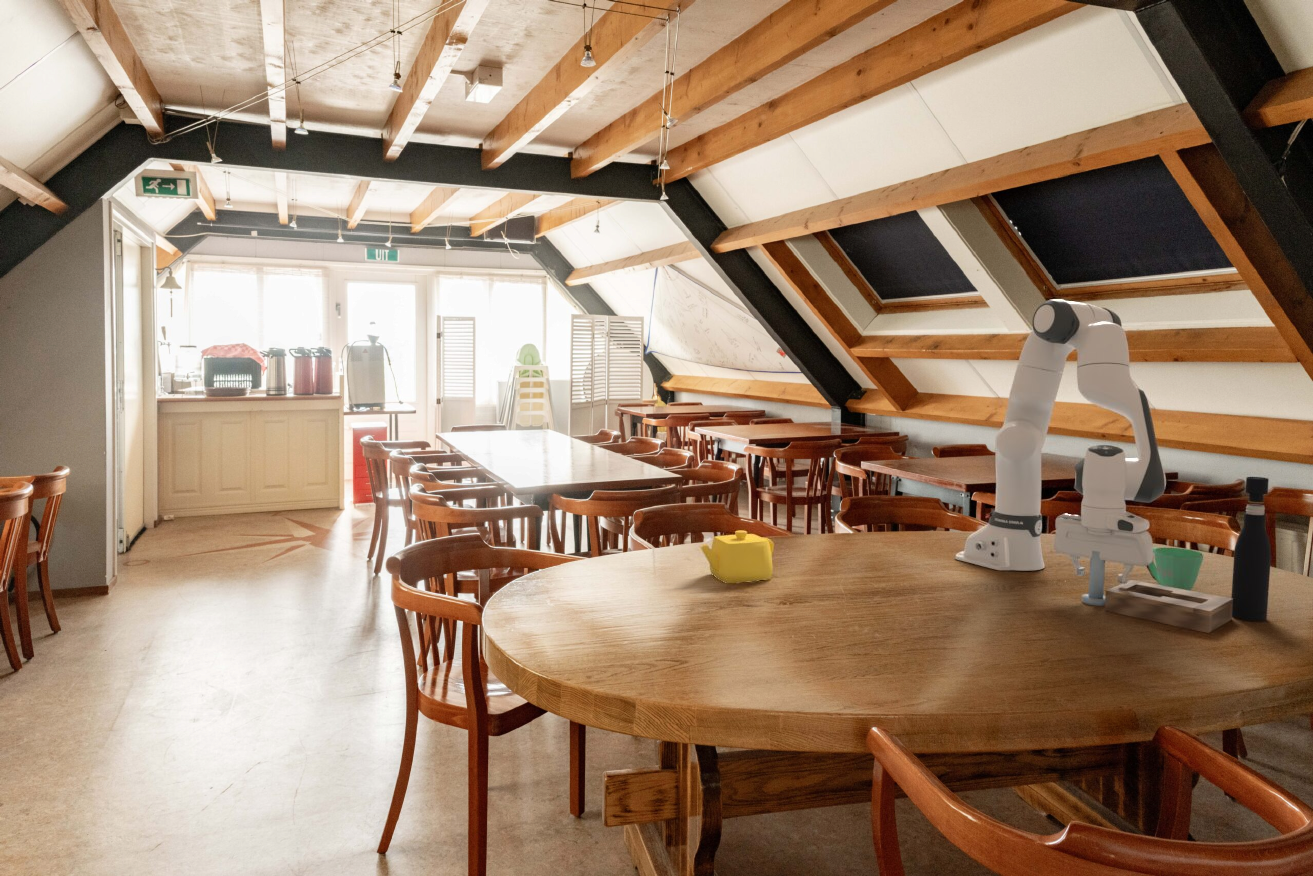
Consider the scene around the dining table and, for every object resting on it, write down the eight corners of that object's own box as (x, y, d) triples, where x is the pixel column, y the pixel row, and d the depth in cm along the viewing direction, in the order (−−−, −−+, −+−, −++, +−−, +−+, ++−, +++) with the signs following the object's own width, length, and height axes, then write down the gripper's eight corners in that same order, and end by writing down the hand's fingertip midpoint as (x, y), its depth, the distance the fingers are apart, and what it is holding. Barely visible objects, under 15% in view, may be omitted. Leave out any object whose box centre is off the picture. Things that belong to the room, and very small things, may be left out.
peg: (1077, 602, 192) (1079, 550, 191) (1088, 597, 196) (1090, 546, 195) (1103, 607, 188) (1105, 554, 187) (1113, 603, 192) (1116, 550, 191)
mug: (1211, 598, 195) (1214, 555, 194) (1174, 600, 193) (1177, 557, 192) (1162, 582, 210) (1164, 542, 209) (1127, 584, 208) (1129, 544, 207)
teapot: (709, 586, 205) (710, 538, 204) (691, 574, 217) (691, 529, 216) (784, 580, 212) (784, 533, 211) (762, 568, 223) (762, 524, 222)
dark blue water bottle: (1256, 623, 177) (1265, 480, 174) (1223, 615, 182) (1232, 477, 180) (1273, 619, 180) (1282, 478, 177) (1240, 611, 185) (1249, 475, 183)
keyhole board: (1104, 610, 186) (1105, 590, 185) (1130, 599, 195) (1131, 579, 194) (1208, 633, 171) (1210, 611, 170) (1231, 619, 180) (1233, 598, 179)
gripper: (1049, 514, 196) (1048, 573, 197) (1146, 526, 181) (1144, 590, 182) (1061, 510, 200) (1060, 568, 201) (1157, 522, 185) (1154, 584, 186)
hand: (1100, 579), depth 191 cm, fingers open, 8 cm apart
